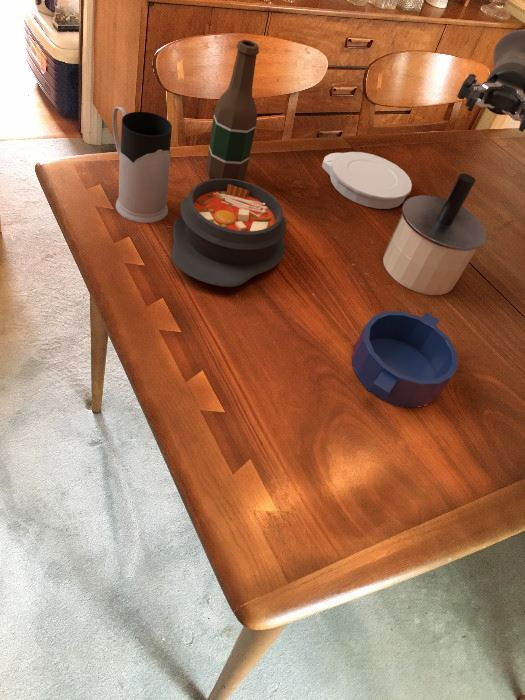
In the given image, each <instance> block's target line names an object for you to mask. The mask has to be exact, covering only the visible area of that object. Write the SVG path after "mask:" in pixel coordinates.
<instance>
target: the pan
mask: <svg viewBox="0 0 525 700" xmlns="http://www.w3.org/2000/svg"><path fill="white" fill-rule="evenodd" d="M439 322H440V319H439V318H437V317H436V316H434V315H432V314H430V313H429V312H426V311H425V312H424V313H423V315H422V316H419V315H416V314H412V313H410V312H406V311H401V310H400V311H398V310H397V311H393V310H387V311H386V310H385V311H383V312H380V313H377V314H375V315H373V316H372V317H370V319H369V320H368V321H367V322H366V323H365V325H364V327H363V329H362V330H361V333H360V335H359V337H358V338H357V341H356V343H355V345H354V347H353V351H352V355H351V365H352V369H353V372H354V374H355V376H356V378H357V379H358V381H359V383H360V384H361V385H362V386H363V387H364V388H365V389H366V390H367V391H368V392H370V394H371V395H373V396H374V397H375V398H378V399H379V398H380V399H379V400H381V399H382V400H381V401H383V402H385V401H386V402H385V403H387V404H389V403H390V404H389V405H392V404H394V405H393V406H395V405H397V406H396V407H399V406H403V407H402V408H405V407H418V406H422V407H425V406H427V405H426V404H428V405H430V404H431V403H433V402H434V401H436V400H437V399H438V397H439V396H440V394H441V393H442V392H443V390H444V389H445V388H446V387H447V384H448V383H449V382H450V381H451V379H452V378H453V376H454V374H455V372H456V371H457V369H458V367H459V363H458V360H459V359H458V352H457V350H456V348H455V346H454V344H453V343H452V341H451V339H450V337H448V336H447V334H446V333H444V332H443V331H442V330H441V328H439V327H438V326H437V325H438V324H439ZM432 401H433V402H432ZM430 402H431V403H430ZM429 403H430V404H429ZM424 405H425V406H424ZM418 408H419V407H418Z"/></svg>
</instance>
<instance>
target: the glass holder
mask: <svg viewBox="0 0 525 700" xmlns="http://www.w3.org/2000/svg"><path fill="white" fill-rule="evenodd" d="M118 111H120V113H121V114H122V118H121V129H120V130H121V132H120V134H121V135H120V137H119V132H118ZM112 132H113V138H114V139H113V140H114V143H115V144H114V145H115V149H116V152H117V155H118V157H119V159H118V160H119V161H118V162H119V165H118V167H119V168H118V197H117V200H116V201H115V209H116V211H117V213H118V214H119V215H120V216H122V217H123V218H124V219H126V220H128V221H132V222H135V223H140V224H152V223H157V222H160V221H161V220H163V219H165V218H166V217H167V215H168V213H169V208H168V204H167V196H168V186H169V175H170V167H171V166H170V165H171V141H172V133H173V125H172V123H171V122H170V121H169V120H168V119H167V118H166V117H164V116H162V115H159V114H157V113H154V112H149V111H132V112H127V111H126V110H125V108H124V107H122V106H116V107H114V108H113V109H112Z"/></svg>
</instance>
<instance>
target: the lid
mask: <svg viewBox="0 0 525 700" xmlns="http://www.w3.org/2000/svg"><path fill="white" fill-rule="evenodd" d="M321 168H322V170H323V171H325V173H327V175H329V176H330V177H329V178H330V182H331V184H332V185H333V187H334V189H335V190H336V191H337V192H338V193H339V194H341V195H342V197H344V198H346V199H347V200H350V201H351V202H353V203H356V204H358V205H361V206H363V207H365V208H371V209H378V210H391V209H393V208H398V207H399V206H400V205H401V204H404V203H405V201H406V198H407V196H409V195H410V194H411V191H412V188H413V183H412V181H411V177H410V176H409V175H408V174H407V173H406V171H404V169H402V168H401V167H399V165H397V164H395V163H394V162H391V161H390V160H388V159H386V158H384V157H381V156H378V155H376V154H371V153H368V152H363V151H348V152H347V151H346V152H333V153H329V154H327V155H325V156H324V158H323V161H322V164H321Z"/></svg>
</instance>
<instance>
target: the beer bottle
mask: <svg viewBox="0 0 525 700" xmlns="http://www.w3.org/2000/svg"><path fill="white" fill-rule="evenodd" d="M236 49H237V51H236V56H235V60H234V65H233V70H232V73H231V78H230V82H229V85H228V87H227V89H226V90H225V91H224V93H223V94H221V95H220V97H219V99H218V100H217V102H216V104H215V109H214V112H213V118H212V125H211V131H210V138H209V145H208V151H207V158H206V170H207V174H208V176H209V178H210V179H236V180H240V181H244V179H245V177H246V175H247V170H248V166H249V161H250V156H251V152H252V148H253V143H254V137H255V134H256V133H255V132H256V127H257V121H258V111H257V105H256V103H255V100H254V97H253V85H254V79H255V77H254V76H255V71H256V61H257V55H258V54H260V49H259V45H258V43H256V42H254V41H252V40H247V39H242V40H240V41H239V40H238V42H237V44H236Z"/></svg>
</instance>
